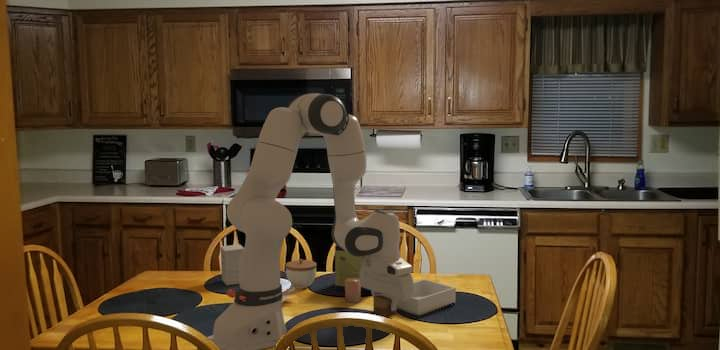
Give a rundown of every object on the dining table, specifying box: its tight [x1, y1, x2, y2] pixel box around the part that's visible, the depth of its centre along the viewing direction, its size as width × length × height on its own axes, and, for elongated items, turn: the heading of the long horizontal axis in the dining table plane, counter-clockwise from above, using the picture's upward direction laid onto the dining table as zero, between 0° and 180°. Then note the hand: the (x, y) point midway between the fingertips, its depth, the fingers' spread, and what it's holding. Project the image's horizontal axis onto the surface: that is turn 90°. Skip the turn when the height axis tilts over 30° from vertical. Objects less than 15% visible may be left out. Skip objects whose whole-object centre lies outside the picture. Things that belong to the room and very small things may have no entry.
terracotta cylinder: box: [344, 278, 362, 305], centre depth 206 cm, size 5×5×7 cm
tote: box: [397, 278, 457, 317], centre depth 203 cm, size 13×17×5 cm
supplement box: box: [220, 243, 245, 286], centre depth 228 cm, size 7×7×13 cm
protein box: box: [334, 244, 371, 293], centre depth 221 cm, size 10×16×16 cm
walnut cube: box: [373, 293, 398, 317], centre depth 195 cm, size 5×5×5 cm
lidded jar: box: [285, 258, 317, 289], centre depth 223 cm, size 11×11×9 cm
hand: (385, 307), depth 195 cm, fingers closed on walnut cube, 5 cm apart
